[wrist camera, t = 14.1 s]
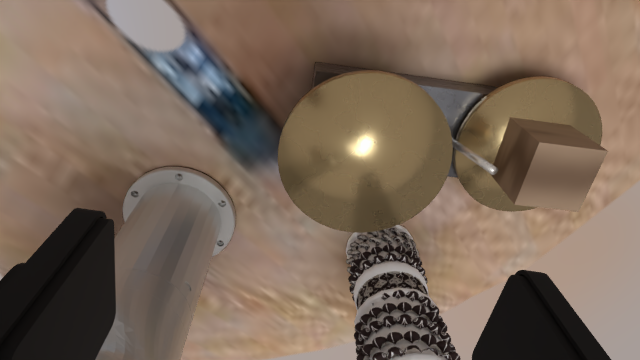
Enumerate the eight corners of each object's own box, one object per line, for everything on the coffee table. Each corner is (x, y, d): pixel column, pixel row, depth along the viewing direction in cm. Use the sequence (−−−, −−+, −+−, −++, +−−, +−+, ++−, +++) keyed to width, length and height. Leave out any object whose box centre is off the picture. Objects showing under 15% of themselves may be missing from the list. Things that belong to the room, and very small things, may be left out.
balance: (545, 194, 52) (606, 259, 41) (278, 163, 49) (270, 223, 38) (596, 75, 45) (685, 116, 34) (292, 32, 42) (287, 61, 32)
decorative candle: (402, 206, 52) (472, 399, 30) (426, 263, 56) (504, 471, 34) (330, 233, 53) (347, 436, 31) (359, 287, 57) (391, 501, 35)
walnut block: (546, 180, 45) (578, 212, 40) (489, 173, 44) (514, 204, 39) (570, 125, 42) (607, 150, 37) (510, 117, 42) (539, 142, 36)
